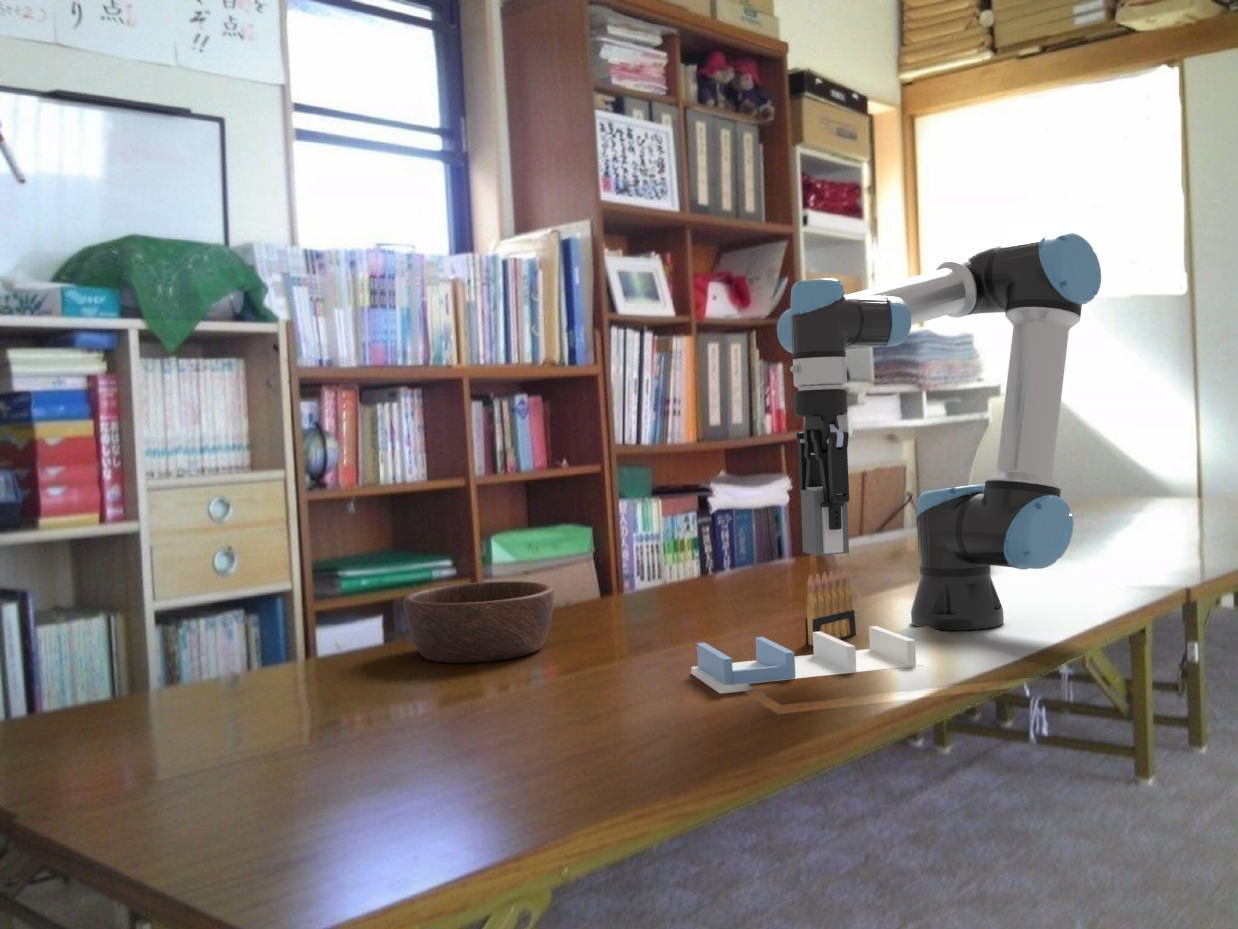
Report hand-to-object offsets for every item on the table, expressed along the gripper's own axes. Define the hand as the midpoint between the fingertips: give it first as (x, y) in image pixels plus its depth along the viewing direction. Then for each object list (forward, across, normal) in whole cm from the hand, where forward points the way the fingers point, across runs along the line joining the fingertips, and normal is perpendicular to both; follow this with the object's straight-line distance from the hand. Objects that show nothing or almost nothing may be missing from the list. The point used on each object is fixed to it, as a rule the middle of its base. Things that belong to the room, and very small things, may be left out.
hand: (825, 550), depth 179 cm
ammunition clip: (+17, -17, +8) cm, 26 cm away
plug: (0, 0, 0) cm, 0 cm away
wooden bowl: (+18, -41, -45) cm, 63 cm away
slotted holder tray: (+17, 0, -4) cm, 18 cm away
